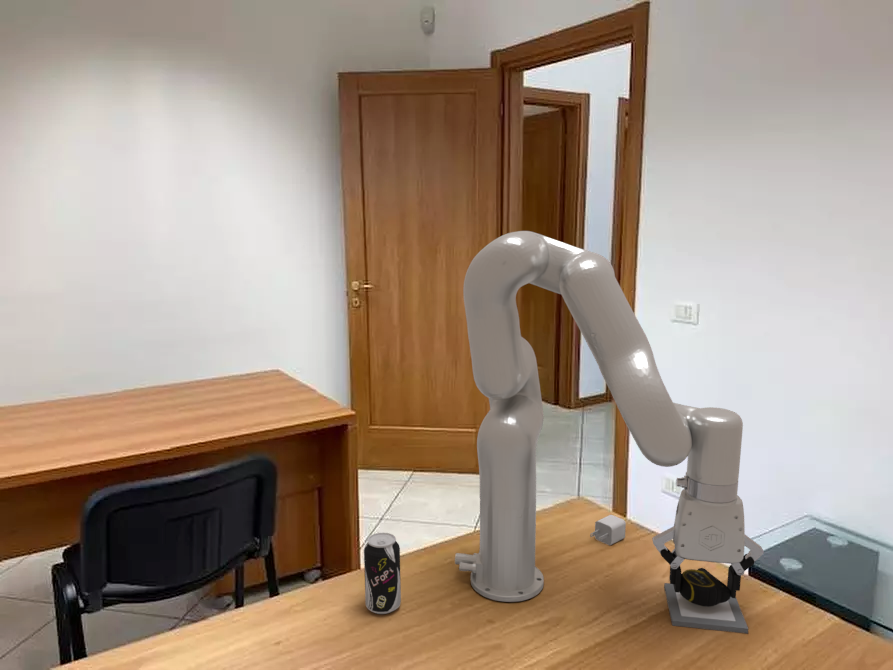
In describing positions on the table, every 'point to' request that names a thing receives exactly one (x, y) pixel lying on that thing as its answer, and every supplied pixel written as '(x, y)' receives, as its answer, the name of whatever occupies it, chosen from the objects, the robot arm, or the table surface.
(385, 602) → the beverage can
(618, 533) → the usb wall charger
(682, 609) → the coaster
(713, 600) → the tape measure
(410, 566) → the table surface
